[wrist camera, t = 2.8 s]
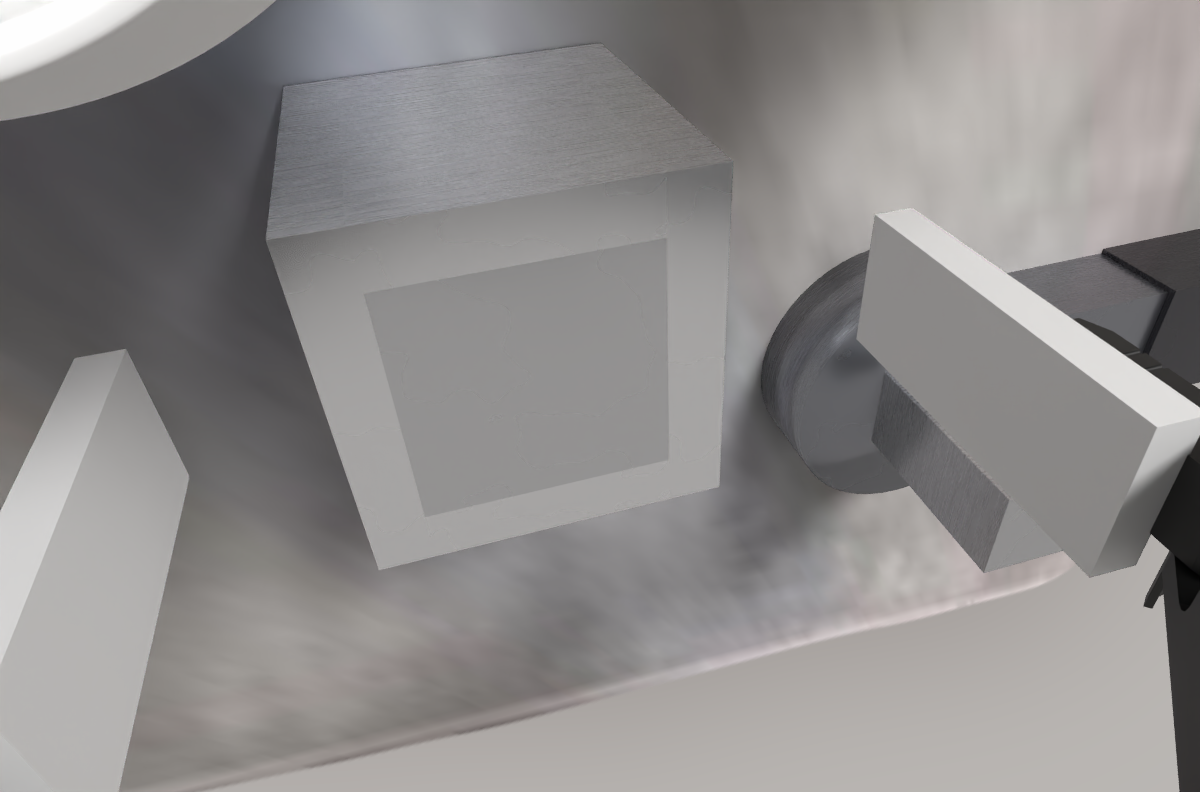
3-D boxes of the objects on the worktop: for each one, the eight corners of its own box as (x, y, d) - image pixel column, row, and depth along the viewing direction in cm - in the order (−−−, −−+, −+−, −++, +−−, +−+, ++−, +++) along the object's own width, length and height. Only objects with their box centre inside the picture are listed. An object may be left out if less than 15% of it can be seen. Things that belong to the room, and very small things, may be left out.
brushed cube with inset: (362, 356, 20) (379, 570, 14) (284, 86, 16) (266, 240, 10) (615, 305, 21) (719, 487, 15) (600, 42, 17) (733, 160, 11)
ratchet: (753, 462, 26) (880, 657, 20) (769, 267, 21) (935, 443, 16) (1244, 344, 29) (1473, 481, 23) (1341, 155, 25) (1652, 266, 19)
